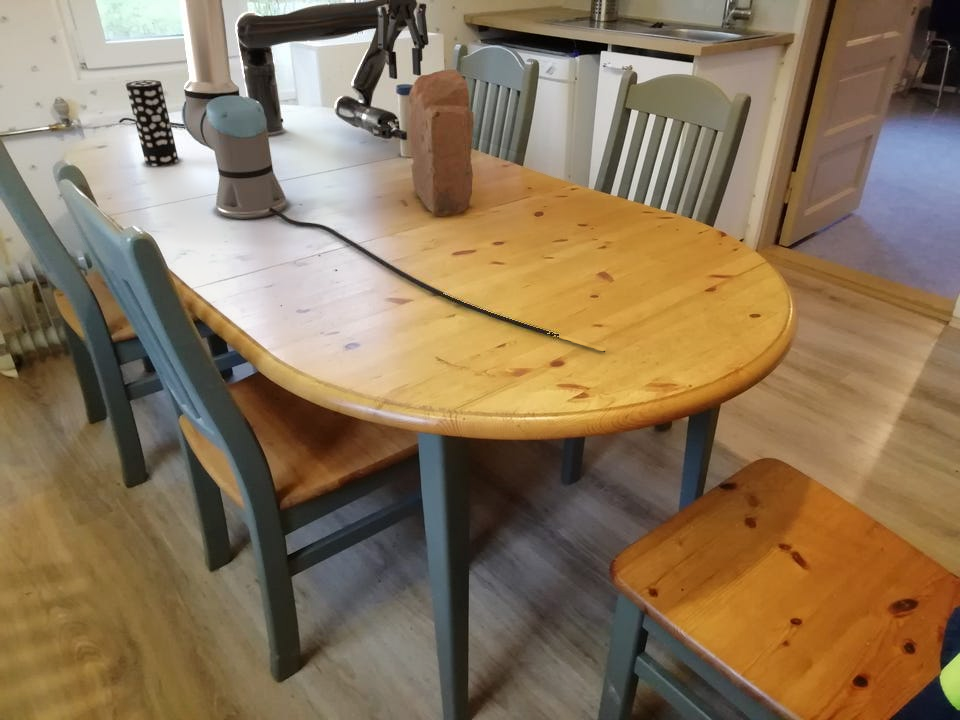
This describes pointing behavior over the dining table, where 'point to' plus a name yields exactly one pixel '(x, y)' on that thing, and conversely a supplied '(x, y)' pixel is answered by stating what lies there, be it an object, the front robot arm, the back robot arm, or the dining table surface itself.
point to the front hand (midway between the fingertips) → (405, 76)
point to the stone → (441, 141)
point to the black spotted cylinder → (152, 122)
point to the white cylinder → (405, 123)
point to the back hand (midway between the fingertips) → (412, 134)
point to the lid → (403, 89)
